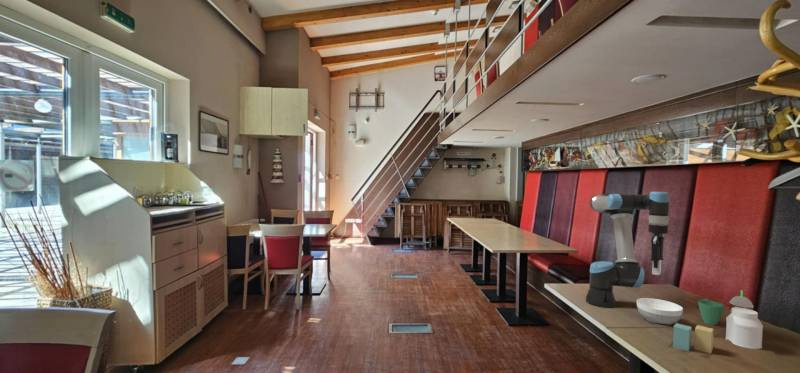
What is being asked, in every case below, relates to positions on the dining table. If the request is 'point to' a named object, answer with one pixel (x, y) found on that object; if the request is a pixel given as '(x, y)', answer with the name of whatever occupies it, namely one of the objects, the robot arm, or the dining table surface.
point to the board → (693, 351)
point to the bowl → (659, 311)
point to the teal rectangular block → (682, 337)
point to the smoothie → (740, 302)
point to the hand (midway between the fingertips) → (656, 273)
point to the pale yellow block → (703, 339)
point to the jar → (744, 328)
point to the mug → (710, 311)
